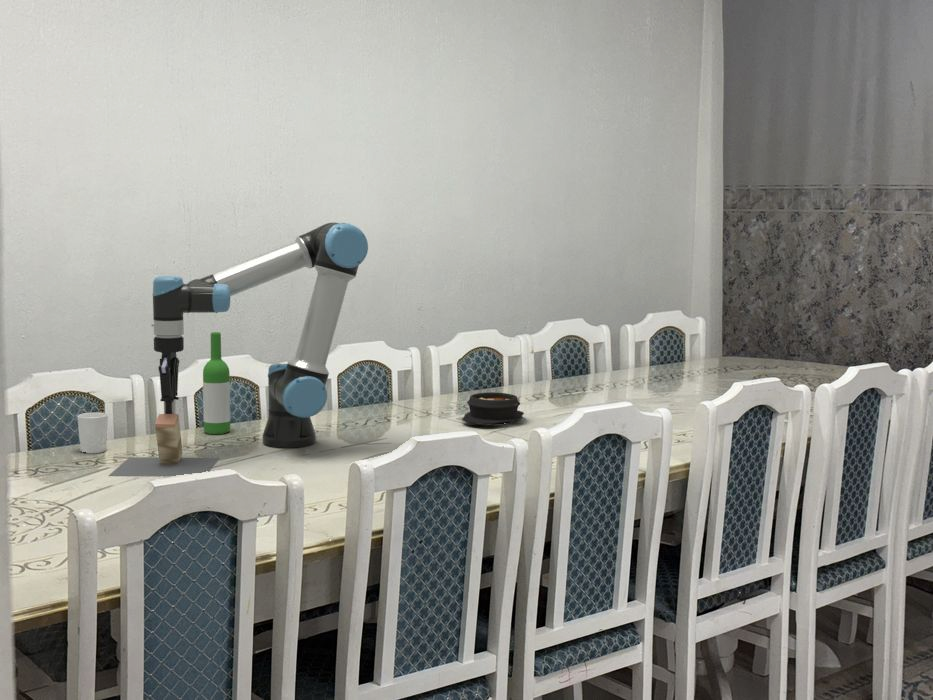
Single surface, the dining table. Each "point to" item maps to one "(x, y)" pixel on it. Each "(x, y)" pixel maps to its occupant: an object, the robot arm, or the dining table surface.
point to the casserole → (493, 408)
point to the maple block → (168, 438)
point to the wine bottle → (216, 390)
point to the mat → (163, 467)
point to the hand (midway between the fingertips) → (170, 425)
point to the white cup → (93, 432)
